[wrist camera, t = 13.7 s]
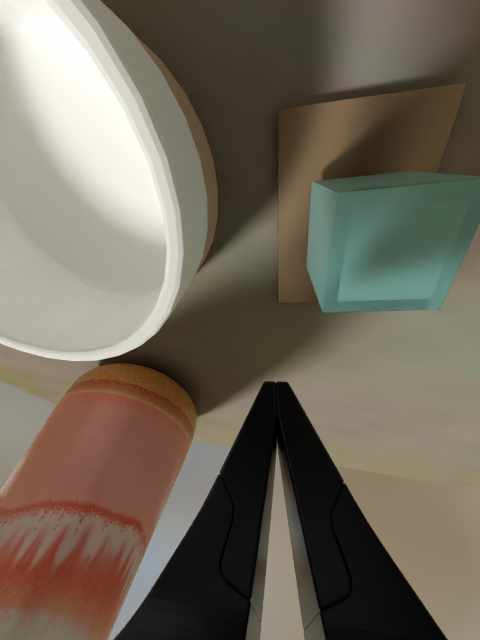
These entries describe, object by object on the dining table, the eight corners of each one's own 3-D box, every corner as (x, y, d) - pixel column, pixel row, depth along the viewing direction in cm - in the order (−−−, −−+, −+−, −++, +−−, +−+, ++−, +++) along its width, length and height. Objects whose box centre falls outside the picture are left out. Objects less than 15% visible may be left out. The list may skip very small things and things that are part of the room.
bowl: (227, 300, 20) (206, 369, 14) (51, 296, 22) (-46, 356, 15) (204, -21, 11) (93, -339, 4) (-106, 16, 13) (-558, -159, 6)
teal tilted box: (409, 171, 13) (500, 177, 8) (385, 262, 16) (440, 309, 11) (311, 181, 13) (337, 192, 8) (306, 266, 16) (322, 312, 11)
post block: (456, 86, 12) (634, 15, 6) (391, 294, 18) (447, 354, 13) (278, 111, 13) (285, 72, 7) (278, 298, 20) (282, 354, 14)
